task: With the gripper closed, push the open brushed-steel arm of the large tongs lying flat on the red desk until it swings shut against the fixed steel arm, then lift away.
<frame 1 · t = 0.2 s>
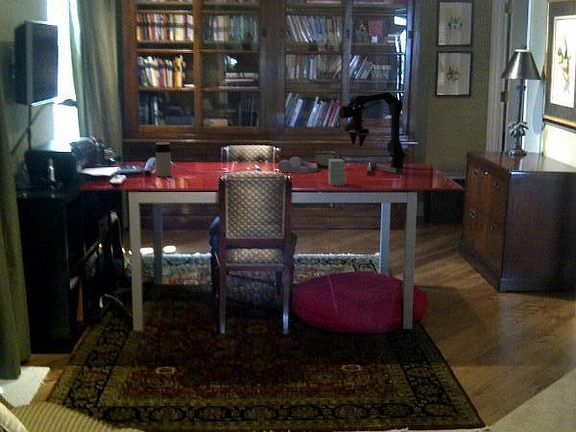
hand: (356, 145, 453), 14 cm above the table, fingers open, 9 cm apart
travel mug: (163, 176, 434), on the table
food container: (325, 168, 464), on the table
supplement box: (336, 184, 407), on the table
tongs arm: (388, 169, 451), point 2 cm above the table, hinge at 35.0°
headphones: (300, 171, 455), on the table
tongs base: (371, 168, 463), on the table
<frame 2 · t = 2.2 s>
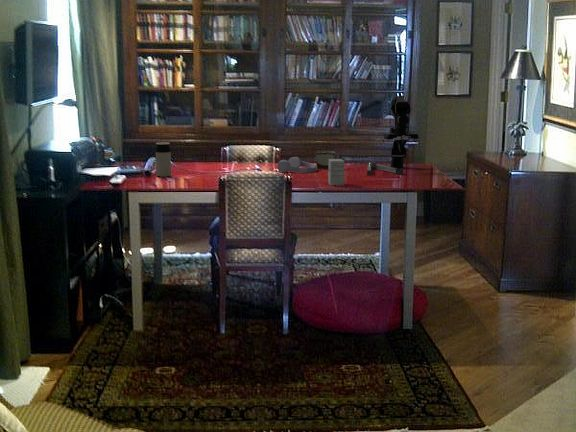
hand: (400, 151, 449), 11 cm above the table, fingers closed
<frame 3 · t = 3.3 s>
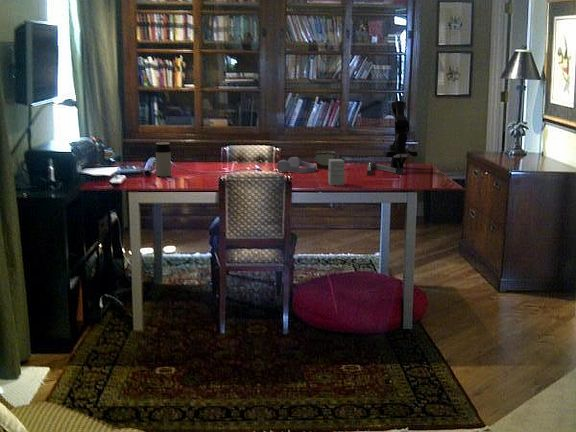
hand: (400, 169, 451), 2 cm above the table, fingers closed
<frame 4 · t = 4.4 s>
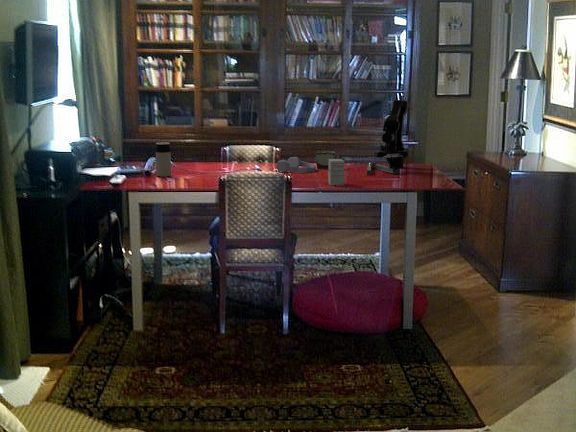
hand: (390, 169, 450), 2 cm above the table, fingers closed
tongs arm: (387, 169, 450), point 2 cm above the table, hinge at 29.5°, touching gripper
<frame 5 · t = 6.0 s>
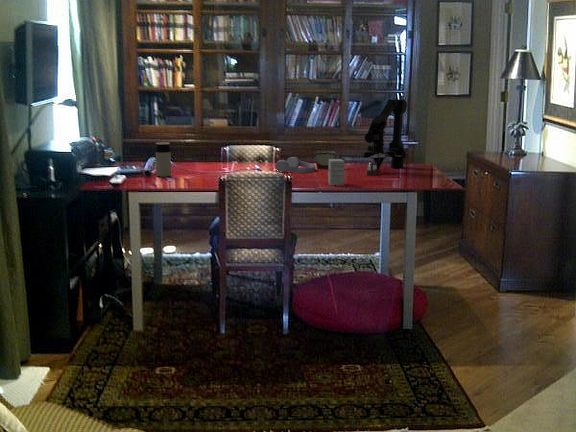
hand: (377, 169, 448), 2 cm above the table, fingers closed
tongs arm: (374, 169, 448), point 2 cm above the table, hinge at -0.1°, touching gripper
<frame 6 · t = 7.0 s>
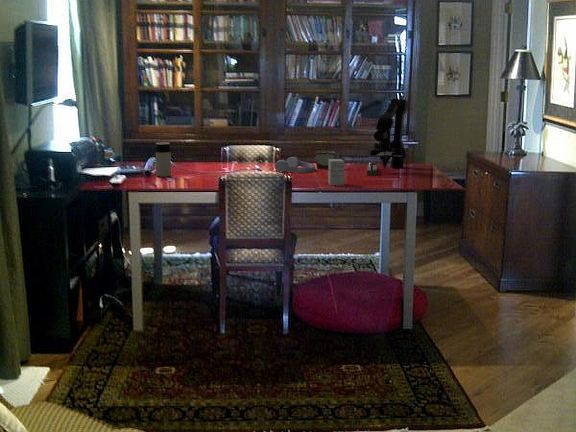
hand: (384, 167, 448), 3 cm above the table, fingers closed
tongs arm: (374, 169, 448), point 2 cm above the table, hinge at -0.1°
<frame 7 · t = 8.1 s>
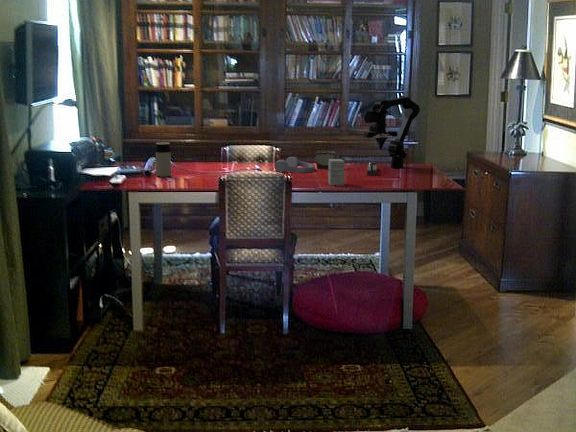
hand: (380, 149, 457), 12 cm above the table, fingers closed
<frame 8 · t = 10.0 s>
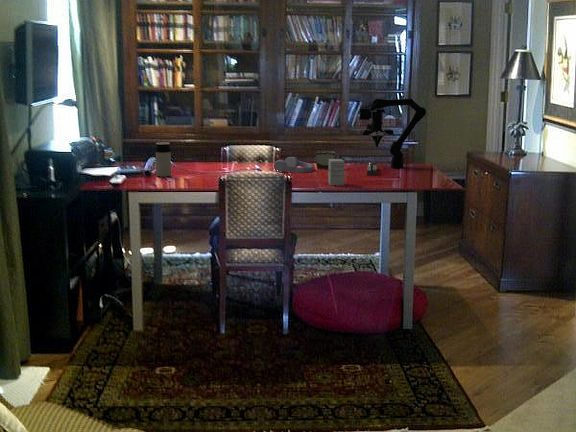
hand: (376, 147, 466), 12 cm above the table, fingers closed
at the end: tongs arm at +0° (first picture: +35°); food container moved 0.2 cm from its start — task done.
